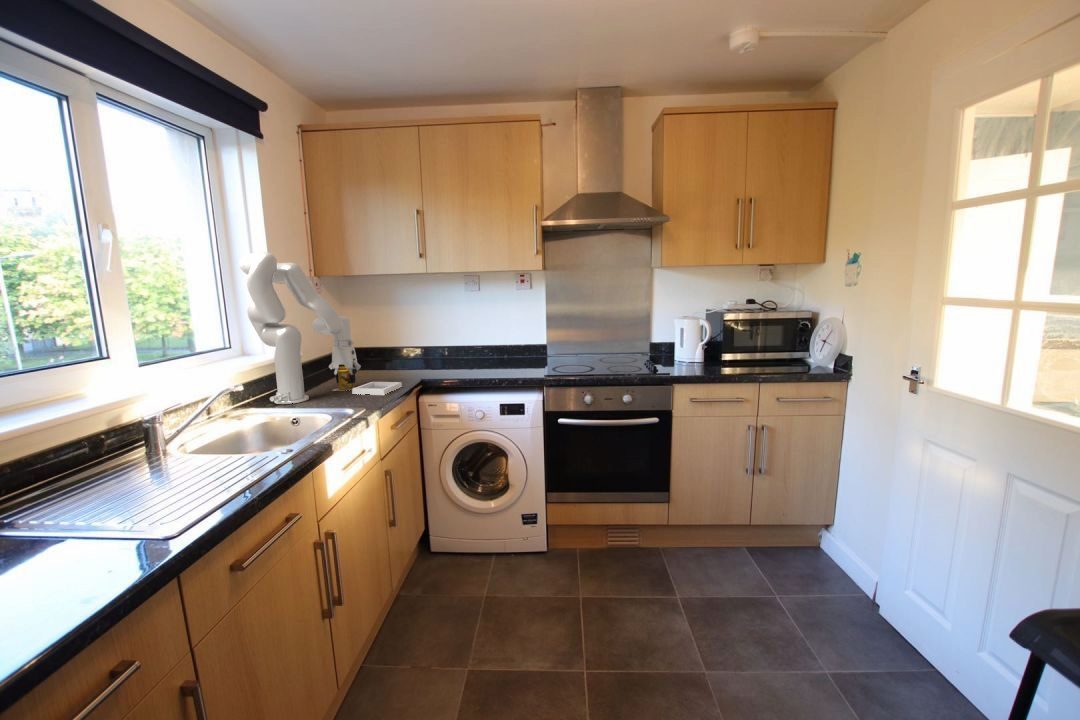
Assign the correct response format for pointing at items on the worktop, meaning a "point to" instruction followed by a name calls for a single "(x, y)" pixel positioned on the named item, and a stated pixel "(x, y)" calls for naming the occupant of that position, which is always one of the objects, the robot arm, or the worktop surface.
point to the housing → (376, 388)
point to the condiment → (344, 379)
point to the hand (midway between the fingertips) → (346, 382)
